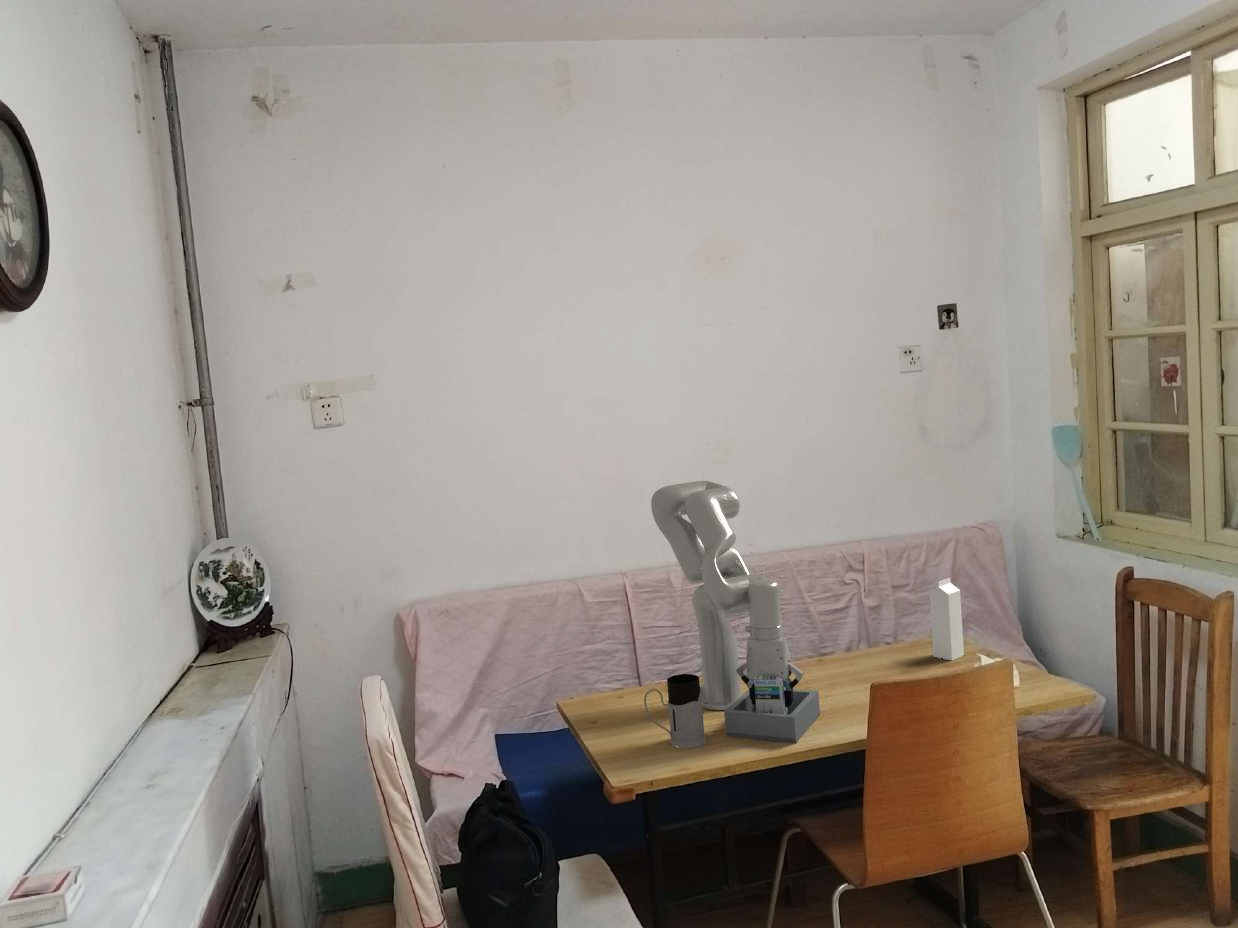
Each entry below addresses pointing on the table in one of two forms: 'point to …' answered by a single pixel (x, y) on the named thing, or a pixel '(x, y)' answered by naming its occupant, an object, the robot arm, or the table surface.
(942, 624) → the milk
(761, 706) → the light bulb box
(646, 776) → the table surface
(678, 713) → the glass holder
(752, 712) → the box
